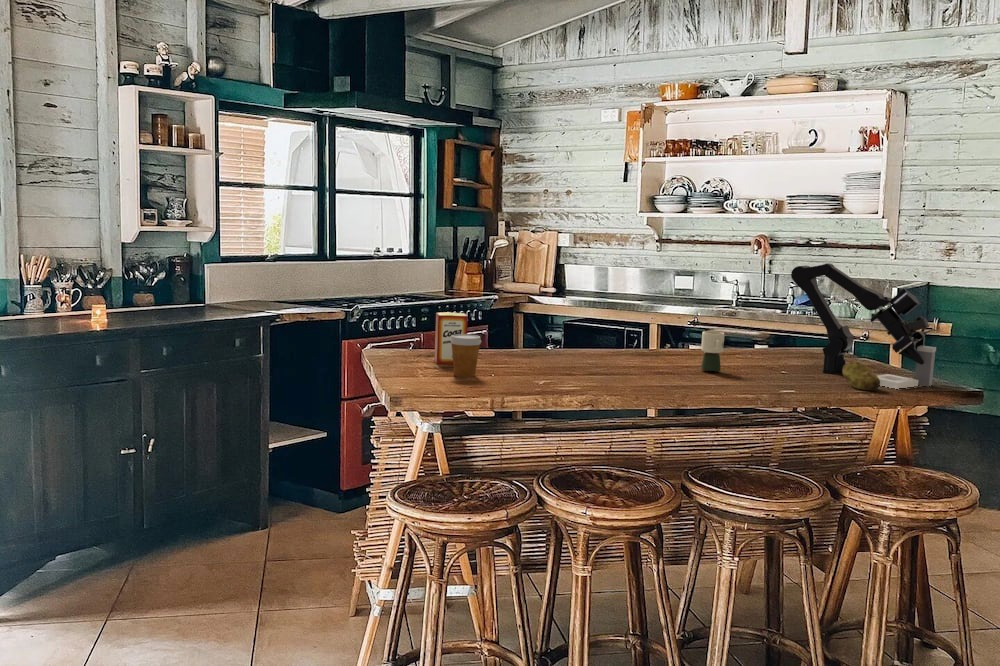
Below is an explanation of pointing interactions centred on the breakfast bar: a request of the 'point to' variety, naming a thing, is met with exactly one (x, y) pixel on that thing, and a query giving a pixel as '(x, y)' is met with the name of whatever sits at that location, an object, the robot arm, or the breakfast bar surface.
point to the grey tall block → (925, 365)
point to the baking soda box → (448, 334)
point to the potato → (860, 376)
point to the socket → (896, 381)
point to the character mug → (712, 350)
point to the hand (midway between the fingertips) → (926, 362)
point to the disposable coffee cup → (465, 354)
